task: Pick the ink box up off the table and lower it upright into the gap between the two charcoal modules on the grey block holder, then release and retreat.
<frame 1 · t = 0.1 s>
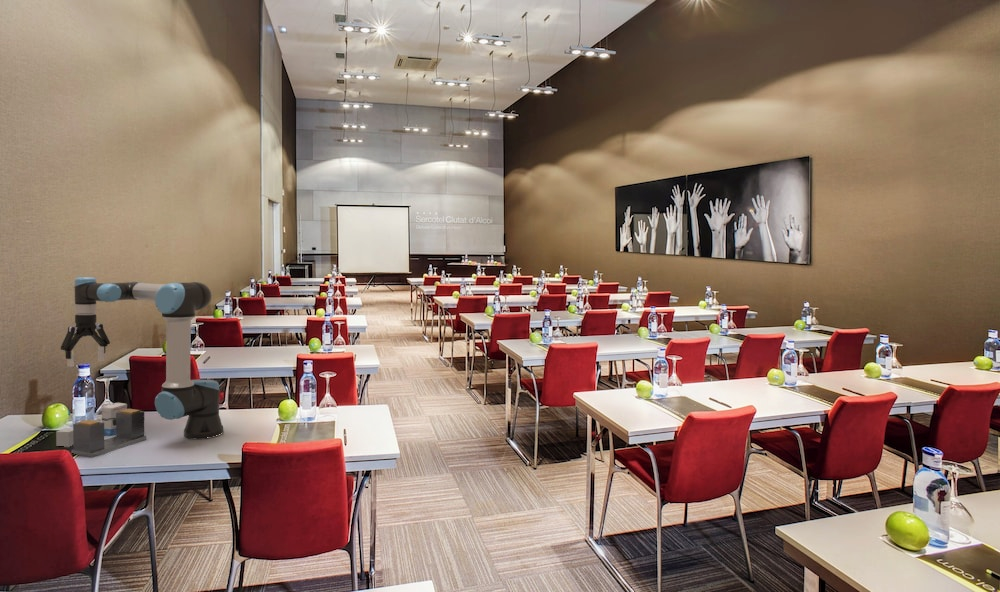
hand: (86, 363, 261), 28 cm above the table, fingers open, 13 cm apart
ink box: (114, 433, 259), on the table
grey block holder: (110, 446, 241), on the table
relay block: (67, 445, 241), on the table
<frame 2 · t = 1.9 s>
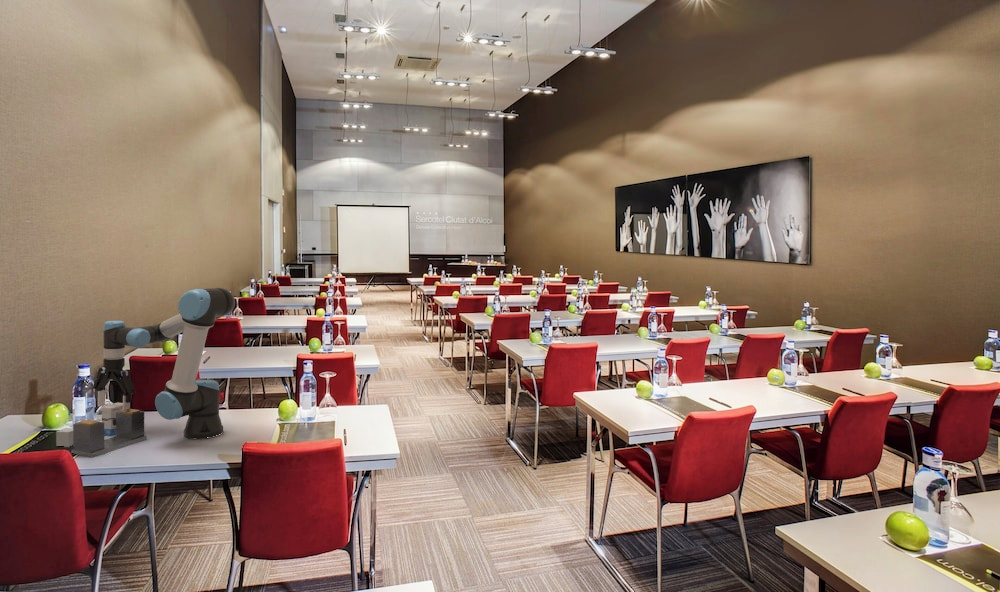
hand: (113, 407, 258), 10 cm above the table, fingers open, 13 cm apart
nothing on the table moved.
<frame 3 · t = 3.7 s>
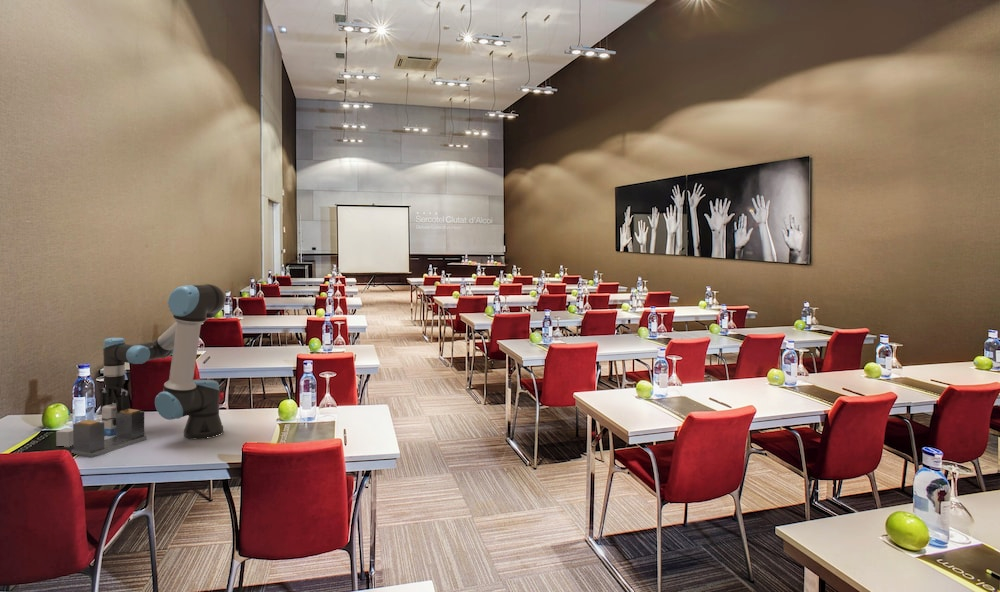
hand: (114, 429, 259), 1 cm above the table, fingers closed on ink box, 5 cm apart
ink box: (114, 432, 259), on the table, touching gripper
everything else where it was.
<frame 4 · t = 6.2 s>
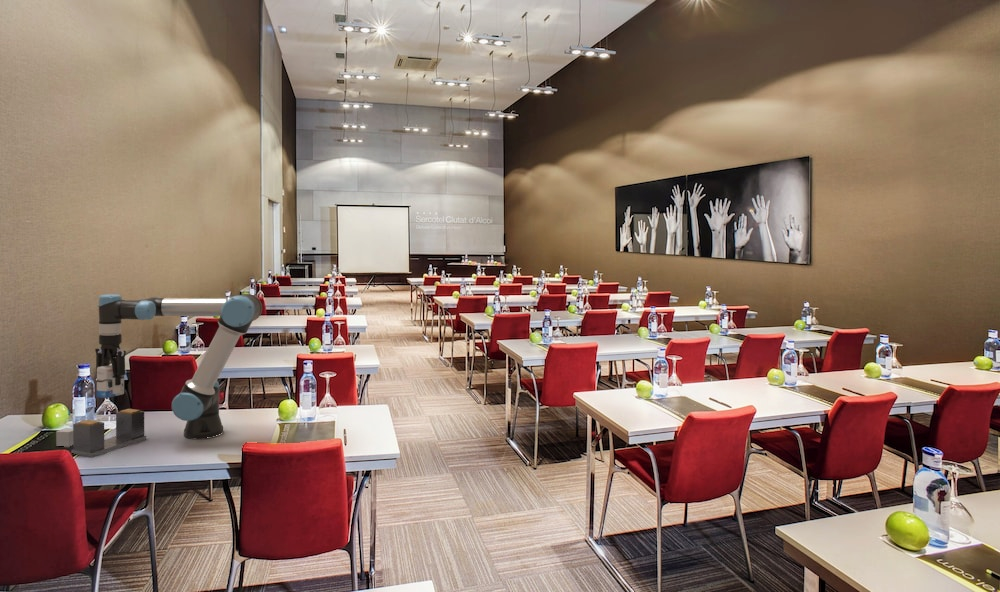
hand: (110, 392, 243), 21 cm above the table, fingers closed on ink box, 5 cm apart
ink box: (110, 396, 243), point 19 cm above the table, touching gripper
everything else where it was.
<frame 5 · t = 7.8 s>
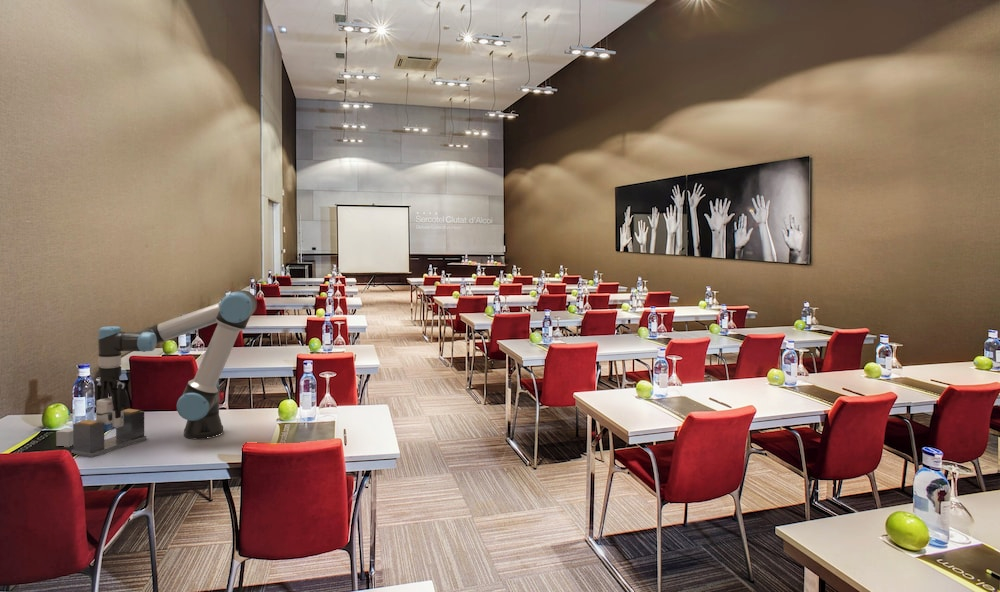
hand: (110, 424, 241), 9 cm above the table, fingers closed on ink box, 5 cm apart
ink box: (110, 428, 241), point 7 cm above the table, touching gripper
everything else where it was.
when the fingers open (4 cm above the table, at t = 8.9 s): ink box drops 1 cm, resting on grey block holder.
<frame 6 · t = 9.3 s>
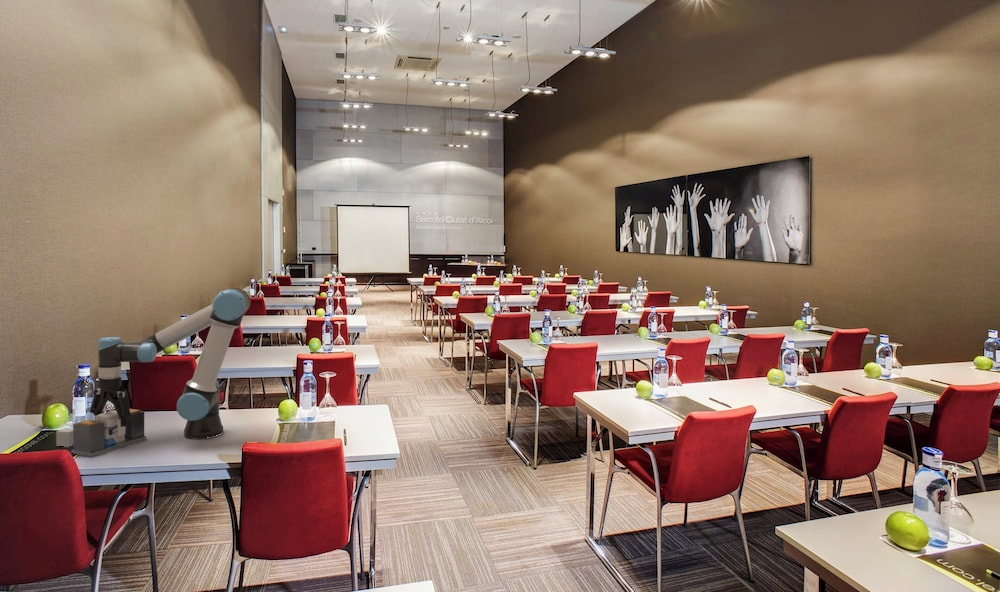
hand: (110, 432, 241), 5 cm above the table, fingers open, 10 cm apart
ink box: (111, 443, 241), point 1 cm above the table, touching grey block holder
everything else where it was.
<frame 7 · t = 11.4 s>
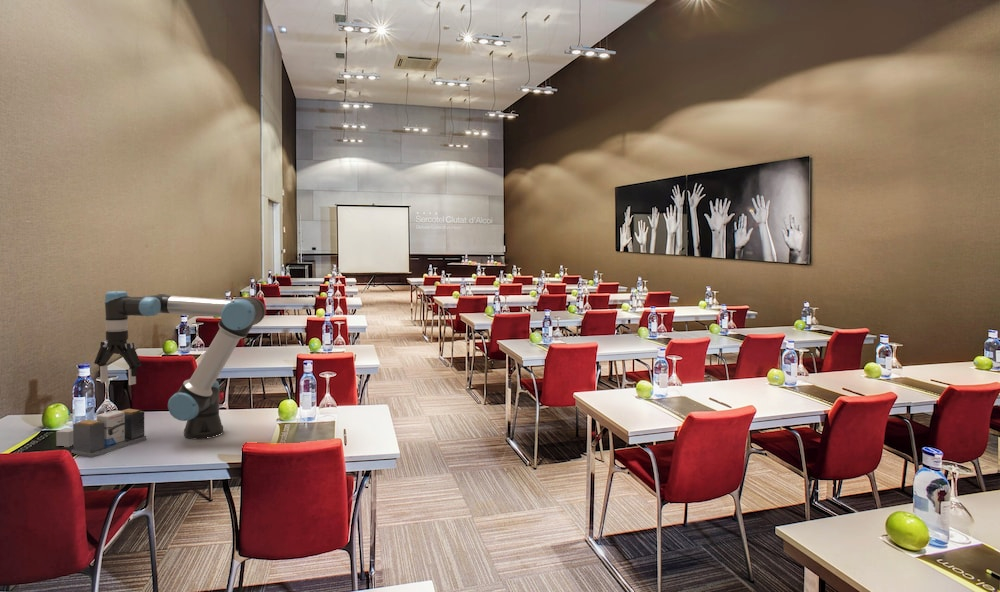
hand: (118, 383, 245), 24 cm above the table, fingers open, 13 cm apart
nothing on the table moved.
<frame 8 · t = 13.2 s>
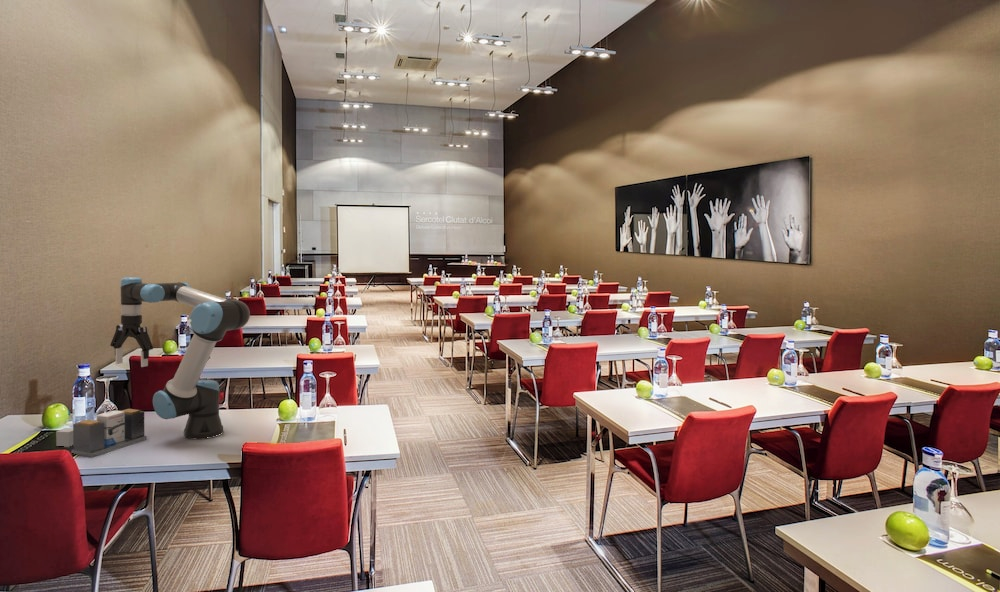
hand: (131, 365, 258), 29 cm above the table, fingers open, 13 cm apart
nothing on the table moved.
at the end: ink box inside the target area on the grey block holder (0.3 cm from its centre), point 1.3 cm above the grey block holder's base; ink box tilted 0°; the gripper is holding nothing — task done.
